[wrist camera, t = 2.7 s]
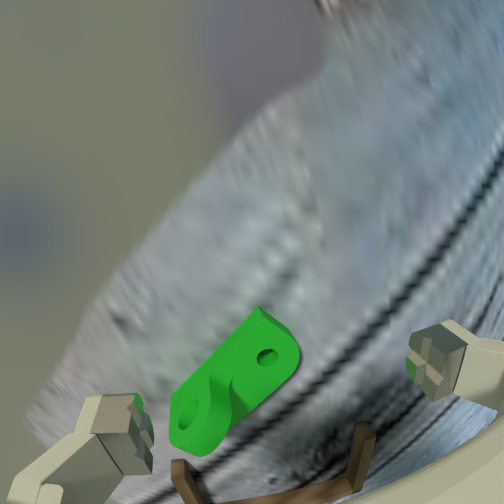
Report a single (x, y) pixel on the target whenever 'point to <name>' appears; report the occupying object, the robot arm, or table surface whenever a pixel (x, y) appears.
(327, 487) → the walnut bay
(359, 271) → the table surface
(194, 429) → the mechanical part
